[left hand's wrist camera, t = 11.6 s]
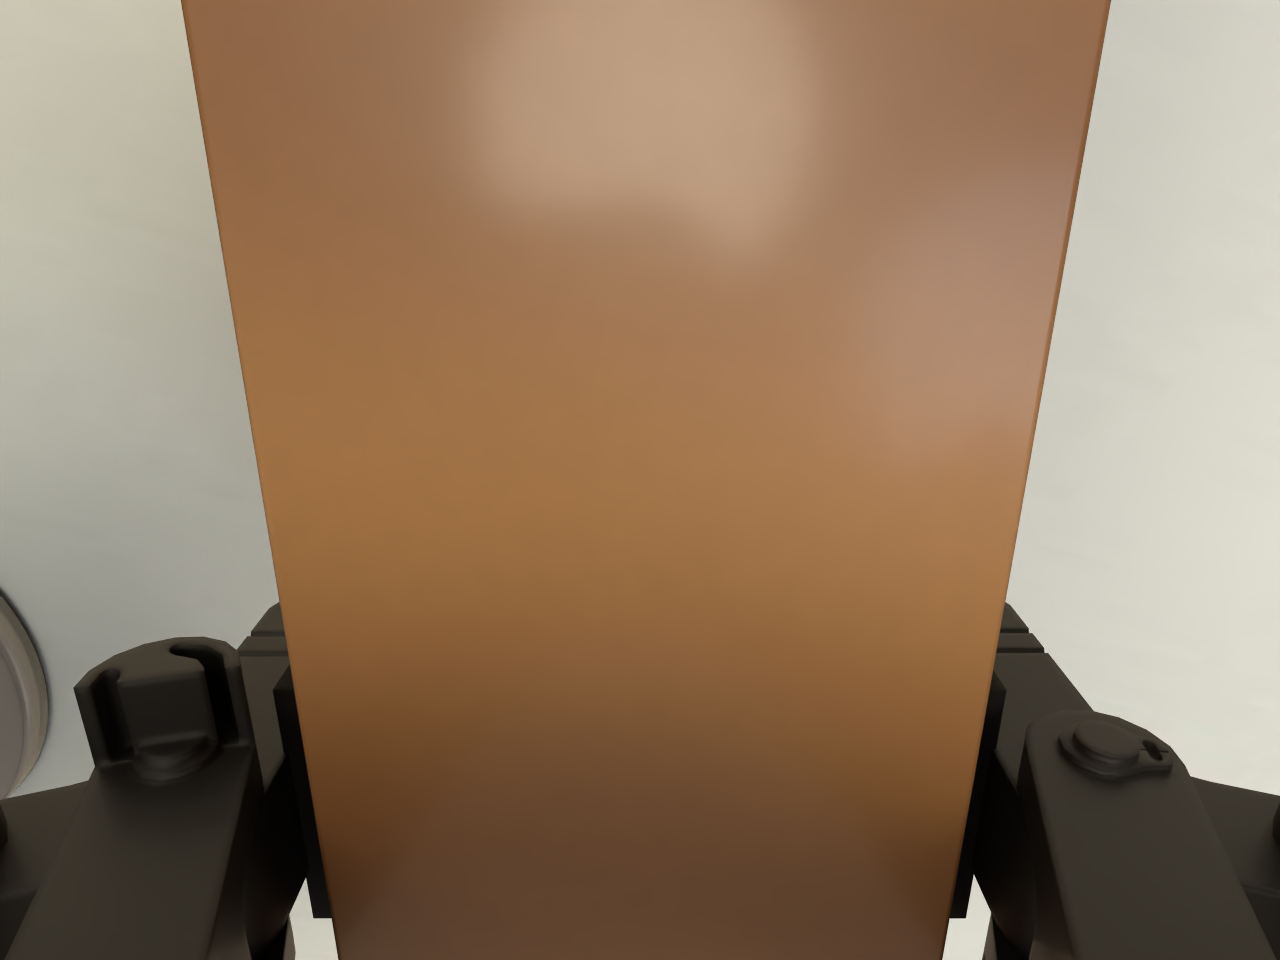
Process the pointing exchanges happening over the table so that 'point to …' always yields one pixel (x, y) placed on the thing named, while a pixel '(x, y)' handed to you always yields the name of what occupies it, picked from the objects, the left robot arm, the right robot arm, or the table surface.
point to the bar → (643, 445)
